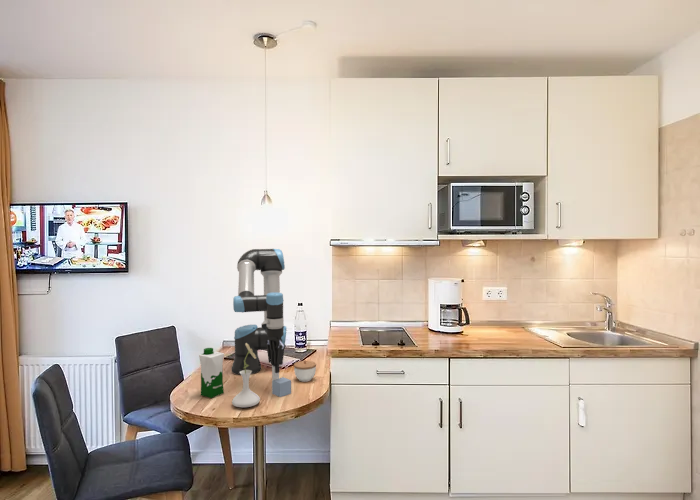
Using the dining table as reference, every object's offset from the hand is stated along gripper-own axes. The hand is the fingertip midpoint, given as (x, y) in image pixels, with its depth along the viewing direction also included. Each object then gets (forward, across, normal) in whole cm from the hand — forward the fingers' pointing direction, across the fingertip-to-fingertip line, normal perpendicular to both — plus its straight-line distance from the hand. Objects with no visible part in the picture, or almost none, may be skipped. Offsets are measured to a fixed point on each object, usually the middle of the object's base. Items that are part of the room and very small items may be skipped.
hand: (275, 379), depth 185 cm
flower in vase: (+6, +3, -17) cm, 18 cm away
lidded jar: (+6, -3, +19) cm, 20 cm away
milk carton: (+6, -17, -22) cm, 28 cm away
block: (+3, +1, 0) cm, 3 cm away
